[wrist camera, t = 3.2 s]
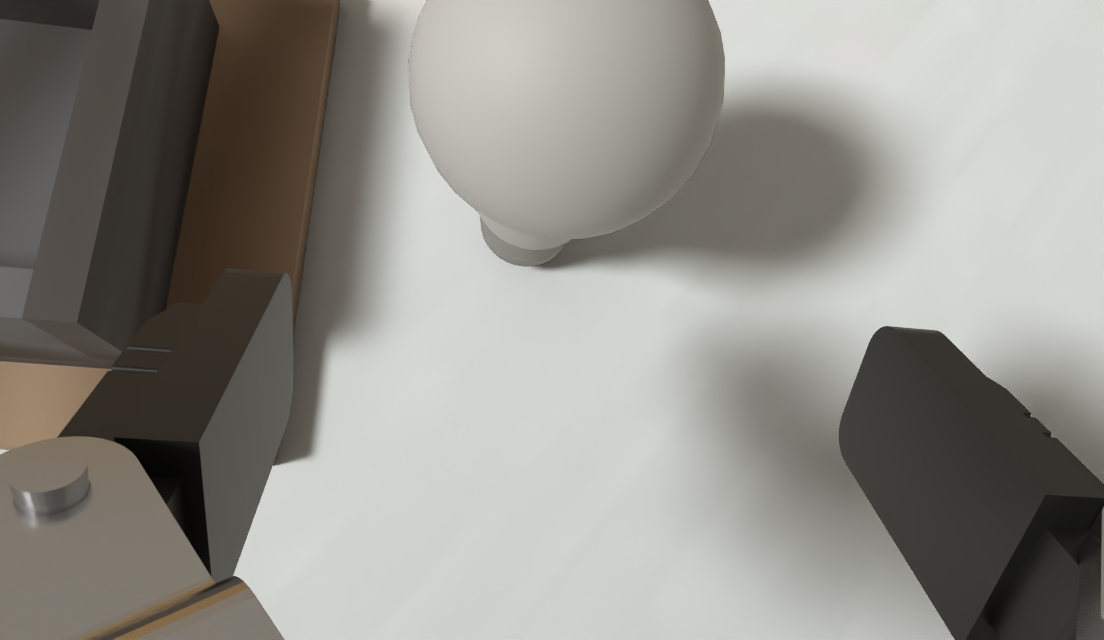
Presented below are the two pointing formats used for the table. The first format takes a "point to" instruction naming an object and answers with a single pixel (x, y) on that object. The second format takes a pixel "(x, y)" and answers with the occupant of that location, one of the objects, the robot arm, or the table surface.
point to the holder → (143, 174)
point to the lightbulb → (565, 111)
